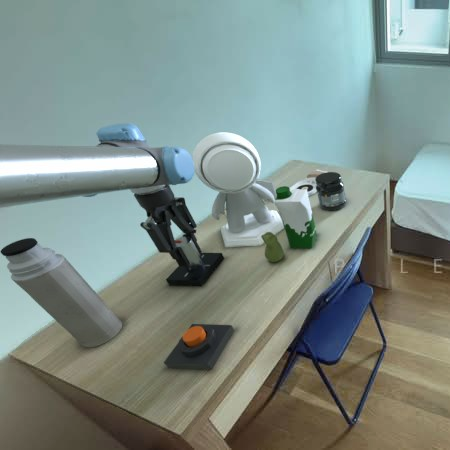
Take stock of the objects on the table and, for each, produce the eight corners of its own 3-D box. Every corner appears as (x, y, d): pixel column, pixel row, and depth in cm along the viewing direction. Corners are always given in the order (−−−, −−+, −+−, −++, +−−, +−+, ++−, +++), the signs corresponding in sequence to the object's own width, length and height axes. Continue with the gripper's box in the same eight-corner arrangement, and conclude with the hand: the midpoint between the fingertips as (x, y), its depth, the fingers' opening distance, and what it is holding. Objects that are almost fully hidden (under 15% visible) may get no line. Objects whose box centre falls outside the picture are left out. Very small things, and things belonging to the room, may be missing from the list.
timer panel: (202, 286, 88) (198, 280, 86) (169, 285, 88) (165, 279, 87) (224, 258, 97) (221, 252, 96) (194, 258, 98) (191, 251, 97)
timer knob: (207, 259, 93) (194, 235, 88) (197, 271, 89) (183, 246, 84) (192, 259, 94) (178, 235, 88) (181, 271, 90) (166, 246, 84)
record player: (333, 173, 139) (304, 193, 124) (334, 179, 140) (305, 200, 126) (313, 168, 143) (282, 188, 129) (314, 175, 145) (284, 194, 131)
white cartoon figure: (228, 256, 98) (178, 152, 78) (219, 223, 114) (176, 129, 94) (290, 235, 106) (260, 135, 86) (273, 206, 123) (244, 117, 102)
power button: (199, 347, 67) (195, 341, 66) (182, 346, 68) (178, 341, 67) (210, 331, 71) (206, 326, 70) (193, 331, 71) (189, 325, 70)
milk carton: (294, 234, 107) (279, 182, 95) (320, 233, 106) (308, 181, 95) (286, 250, 100) (269, 196, 88) (314, 249, 99) (300, 196, 88)
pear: (287, 260, 96) (279, 234, 90) (270, 267, 93) (261, 242, 87) (281, 251, 99) (273, 226, 94) (265, 258, 97) (255, 233, 91)
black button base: (211, 370, 67) (203, 359, 65) (168, 368, 68) (159, 357, 65) (234, 330, 75) (228, 320, 73) (195, 329, 76) (188, 318, 73)
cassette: (254, 195, 131) (248, 179, 126) (257, 193, 132) (252, 177, 128) (276, 200, 127) (271, 183, 122) (279, 198, 128) (274, 181, 124)
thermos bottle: (75, 340, 74) (-21, 251, 58) (111, 315, 80) (34, 229, 64) (92, 352, 71) (-3, 262, 55) (129, 326, 77) (52, 237, 61)
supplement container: (330, 195, 128) (325, 169, 121) (351, 200, 124) (347, 173, 117) (314, 208, 120) (307, 180, 113) (336, 213, 116) (331, 185, 110)
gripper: (137, 207, 69) (183, 281, 82) (187, 172, 84) (219, 239, 97) (106, 207, 69) (157, 280, 83) (162, 172, 84) (197, 239, 98)
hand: (190, 258), depth 90 cm, fingers closed on timer knob, 5 cm apart
